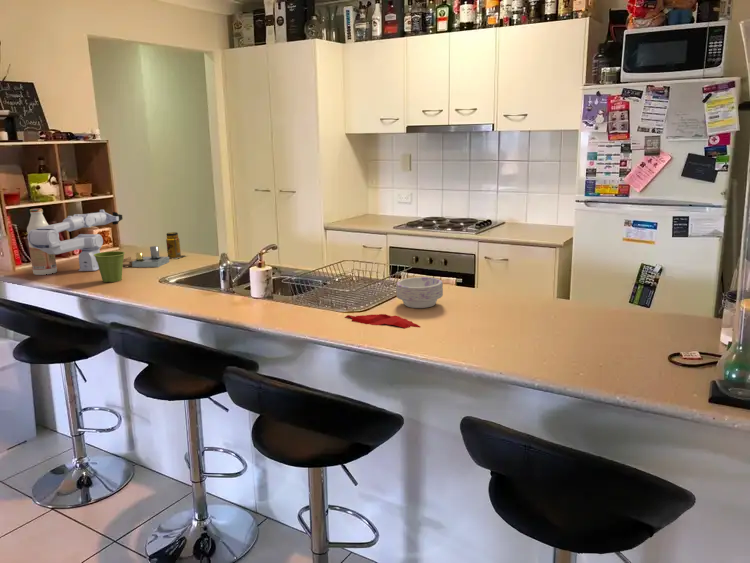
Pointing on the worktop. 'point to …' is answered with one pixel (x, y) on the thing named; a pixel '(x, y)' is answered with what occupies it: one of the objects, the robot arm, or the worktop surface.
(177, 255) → the condiment
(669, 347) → the worktop surface
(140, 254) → the pin
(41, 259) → the fruit juice
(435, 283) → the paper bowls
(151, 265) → the socket block
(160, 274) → the worktop surface
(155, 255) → the silver metal cylinder
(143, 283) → the worktop surface
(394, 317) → the cloth
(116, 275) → the plant pot
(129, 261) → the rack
